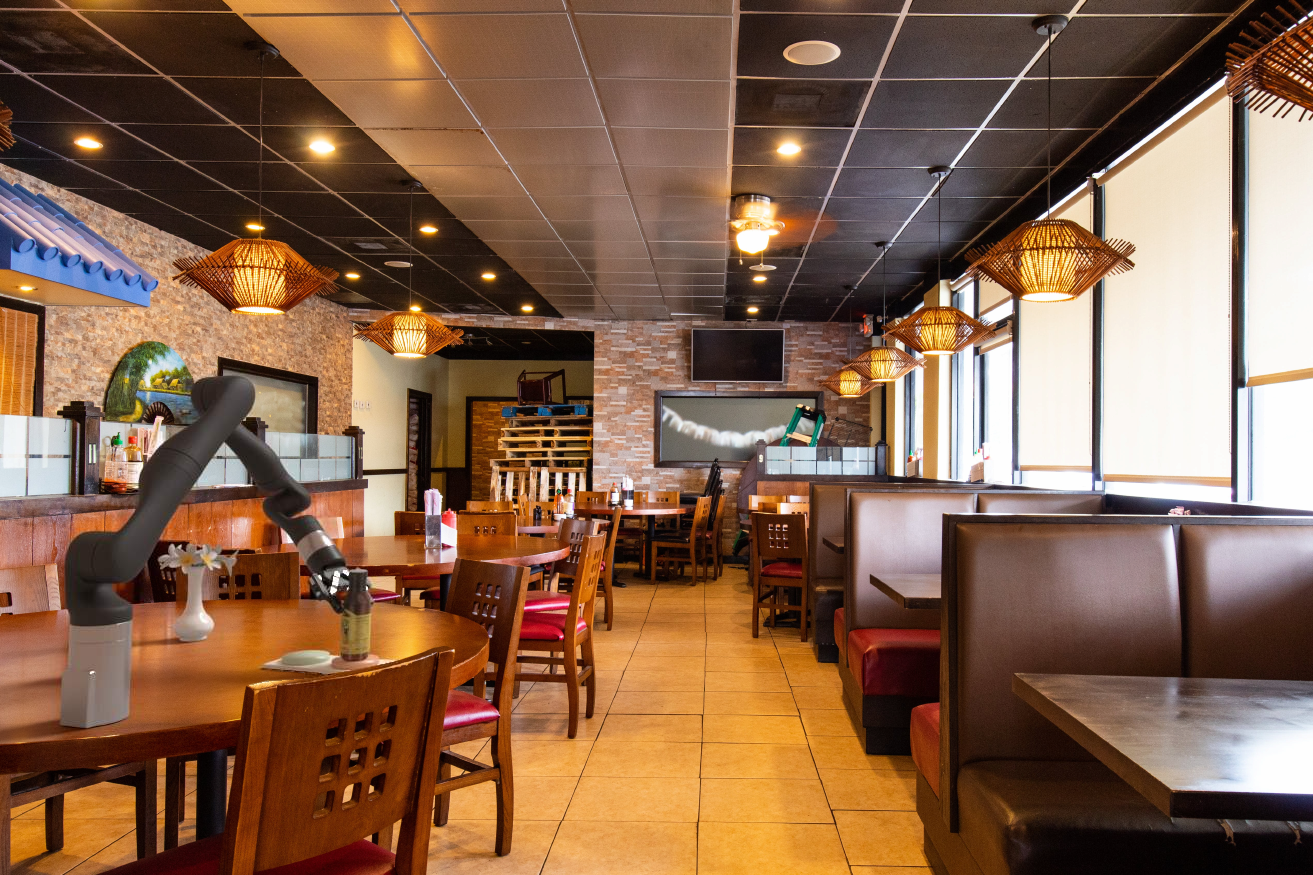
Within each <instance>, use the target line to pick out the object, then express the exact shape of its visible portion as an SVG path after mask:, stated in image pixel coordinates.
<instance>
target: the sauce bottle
mask: <svg viewBox="0 0 1313 875" xmlns="http://www.w3.org/2000/svg"><path fill="white" fill-rule="evenodd" d="M349 570H350V571H349V575H348V576H349V588H348V591H347V592H346V595H345V597H344V601H342V603H343V605H344V606H345V610H344V611H343V612H342V613H341V622H340V623H341V624H340V650H339V651H340V656H341V658H342V659H344V660H346V661H356V660H364V659H366V658H367V657H368V655H369V654H370V649H371V648H370V647H371V646H370V645H371V626H372V624H371V621H372V611H371V610H372V606H371V599H370V596H369V595H368V593H367V591H366V589H367V587H366V580H367V579H368V574H369V571H368V570H367V569H361V568H360V569H356V568H355V569H349Z"/></svg>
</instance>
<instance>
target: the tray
mask: <svg viewBox="0 0 1313 875" xmlns="http://www.w3.org/2000/svg"><path fill="white" fill-rule="evenodd" d="M394 661H396V662H397V660H394V659H385V658H383V659H380V657H379V656H378V655H375V654H370V653H369V655H368V657H367V658H366V659H364V660H356V661H346V660H344V659H342V658H341V655H333V654H330V651H326V650H323V649H322V650H319V649H316V650H315V649H310V650H298V651H291V652H288V653H285V654H283V655H282V656H281V658H278V659H276V660H272V661H268V662H266V663H263V664H262V669H263V668H271V669H272V668H273V669H282V670H281V671H283V669H284V670H297V671H309V672H318V673H322V674H321V675H328V674H331V673H337V672H344V671H350V670H355V669H359V668H364V667H370V666H375V665H380V664H385V663H389V662H394ZM271 669H270V670H271Z"/></svg>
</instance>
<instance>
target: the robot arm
mask: <svg viewBox="0 0 1313 875" xmlns="http://www.w3.org/2000/svg"><path fill="white" fill-rule="evenodd" d="M255 401H256V389H255V386H254V384H253V382H252V381H250V380H249V379H248V378H247V377H245V376H241V375H219V376H217V375H214V376H208V377H201V378H199V379H198V380H196V381H195V382H194V383H193V384H192V386H191V389H190V402H191V404H192V407H193V409H194V410H195V412H196V413H197V414H198V415H199V418H198V419H196V420H195V421H194V422H192V423H191V424H189V425H188V426H186V427H184V428H183V429H181V430H179V431H177V432H176V433H174V434H173V435H172V436H170V437H169V438H167V439H166V440H165V441H163V442H162V443H161V444H160V445H159V446H158V447H157V448H156V449H155V451H154V452H153V453H152V455H151V456H150V457H149V459H148V460H147V462H146V463H144V465H143V467H142V468H141V470H140V471H139V476H138V482H137V483H138V484H137V489H138V490H137V491H138V492H137V493H138V494H137V495H138V503H137V505H136V507H135V510H134V511H133V513H132V514H131V516H130V517H129V518H128V520H127V521H126V522H125V523H124V525H122V527H120V529H118V530H117V531H113V530H112V531H110V530H108V531H107V530H91V531H83V532H82V533H79V534H78V535H76V536H75V537H74V538H73V539H72V540H71V542H70V543H69V545H68V548H67V551H66V553H65V559H64V600H65V601H64V602H65V603H64V604H65V607H66V610H67V612H68V615H69V636H68V637H69V638H68V640H69V641H68V656H67V657H68V659H67V662H68V663H67V668H64V669H63V670H62V671H61V692H60V693H61V694H60V712H59V713H60V714H59V715H60V717H59V718H60V719H59V726H65V727H75V728H82V729H89V728H92V727H96V726H97V727H99V726H104V725H108V724H113V723H116V722H119V721H122V720H125V719H126V718H128V717H129V716H130V696H131V695H130V693H131V690H130V689H131V669H132V668H131V667H132V642H133V622H134V621H133V620H134V619H133V617H134V616H133V614H134V613H133V612H134V611H133V610H134V608H133V605H132V603H131V602H129V601H127V600H126V599H124V598H122V597H120V595H118V593H116V591H115V590H114V587H113V585H118V584H120V585H121V584H124V583H128V582H130V581H132V580H133V579H134V578H136V577H137V576H138V575H139V574H140V573H141V572H142V570H143V568H144V567H145V566H146V564H147V562H148V561H149V560H150V559H149V558H150V557H151V555H152V553H153V552H154V550H155V548H156V545H157V543H158V542H159V540H160V538H161V537H162V535H163V533H164V530H166V527H167V526H168V524H169V522H170V521H171V520H172V518H173V516H174V515H175V513H176V511H177V510H178V509H179V507H180V505H181V503H182V502H183V501H184V500H185V498H186V497H187V496H188V494H189V493H190V491H191V490H192V489H193V487H194V486H195V485H196V483H197V482H198V480H199V479H200V477H201V476H202V474H203V473H204V471H205V470H206V467H207V466H208V465H209V463H210V462H211V461H212V459H213V458H214V456H215V455H216V454H217V452H218V451H219V449H220V448H221V447H222V446H223V444H224V443H225V444H226V446H227V447H228V448H229V450H231V451H232V452H233V453H234V454H235V456H236V457H237V458H238V460H239V461H240V462H241V463H242V465H243V466H244V467H245V470H246V472H248V474H249V476H250V478H251V479H252V480H253V483H255V485H256V487H257V488H258V489H259V490H260V491H261V492H265V493H268V492H269V493H270V492H274V493H273V494H271V495H268V496H267V497H265V498H264V500H263V501H262V508H261V509H262V512H263V513H264V515H265V516H266V518H268V519H269V520H270V521H272V522H273V523H274V524H275V525H277V526H278V527H279V528H280V529H282V531H284V532H285V533H286V534H287V535H288V537H289V538H290V539H291V541H292V543H293V545H294V546H295V547H296V549H297V550H298V551H297V552H299V555H300V557H301V558H302V560H303V562H304V563H305V565H306V567H307V568H308V569H309V571H310V573H311V574H312V575H311V577H309V579H308V580H307V584H308V586H309V588H310V589H311V591H312V593H313V594H314V597H315V598H316V599H317V601H319V602H322V601H325V602H326V603H329V605H330V607H331V608H332V610H333V611H334V612H335V613H336V614H337V615H342V612H343V611H344V610H345V606H344V605H343V601H342V600H341V599H340V597H339V596H338V594H336V593H337V592H339V591H347V592H348V588H349V576H348V575H349V571H350V570H351V569H349V568H348V567H347V564H346V563H347V562H346V558H345V557H344V555H343V554H342V552H341V551H340V549H339V547H338V546H337V545H336V543H335V542H334V540H333V539H332V538H331V537H330V535H329V534H328V533H327V532H326V530H325V529H324V528H323V526H322V524H320V522H319V520H318V519H317V517H315V516H314V515H312V514H304V515H299V514H301V513H303V512H304V511H306V510H307V509H309V508H310V506H311V504H312V496H311V493H310V492H309V491H308V489H307V488H305V486H303V485H302V484H301V483H299V482H298V481H297V480H296V479H295V478H293V477H292V475H291V474H289V471H287V470H286V468H285V466H284V465H283V462H281V460H280V458H279V457H278V455H277V453H276V452H275V451H274V449H273V448H272V447H271V446H269V444H268V443H266V442H265V441H263V439H261V438H260V437H258V436H257V435H255V434H254V433H253V432H252V431H250V430H249V429H247V427H246V426H245V425H243V424H242V422H243V421H244V420H245V419H246V418H247V416H248V415H249V414H250V412H251V411H252V409H253V406H254V404H255ZM275 491H276V492H275ZM297 515H299V516H297ZM296 516H297V517H296ZM355 569H361V568H360V567H356V568H355ZM366 587H367V589H366V591H367V593H368V595H369V596H370V599H371V607H372V606H374V604H375V600H374V598H373V597H372V596H371V593H370V592H369V590H370V589H371V588H372V587H373V585H372V583H371V581H370V580H369V579H368V578H367V580H366Z"/></svg>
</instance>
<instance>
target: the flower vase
mask: <svg viewBox="0 0 1313 875" xmlns="http://www.w3.org/2000/svg"><path fill="white" fill-rule="evenodd" d="M182 546H183V545H182V544H180V545H178V546H176V547H175V544H173V543H171V544H170V545H169V546H168V554H164V555H163V554H162V555H161V556H160V557H159V558H158V559H157V561H158V562H160V563H162V564H161V566H160V568H159V569H160V570H163V569H164V568H165V567H167V566H168V567H169V568H173V569H174V568H178V567H181V571H182V572H183V574H184V575H186V574H187V577H188V591H187V601H186V605H185V609H184V611H183V612H182V614H181V615H180V616H179V617H178V618H177V620H175V621H174V623H173V625H172V631H173V632H174V634H175V635H176V636H178V637H179V641H180V642H187V643H191V642H192V643H193V642H199V641H200V642H201V641H204V640H206V639H207V638H208V636H207V635H208V634H210V633H211V632H212V631H213V629H214V628H215V623H214V620H213V619H212V617H211V616H210V615H209V614H208V613H207V612H206V610H205V608H204V605H203V596H202V595H203V594H202V590H203V588H202V584H203V583H202V582H203V576H204V571H205V569H206V567H207V568H208V569H209V570H210V571H213V570H214V568H217V569H222V563H224V564H225V567H226V569H227V570H228V573H229V576H230V578H231V577H232V572H233V569H232V567H234V566H235V564H236V563H237V558H236V557H237V554H238V553H239V551H240V548H238V549H237V550H236V551H235V552H234V553H232V555H231V556H230V557H227V556H225V555H223V554H221V552H222V551H223V547H222V545H221V544H217V545H215V546H214V547H213V548H212V546H211V544H209V543H208V542H207V543H205V544H203V545H202V549H199V550H197V549H198V548H197V545H195V544H194V545H193V543H187V545H186V547H185V550H186V551H184V550H183V549H182Z"/></svg>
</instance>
